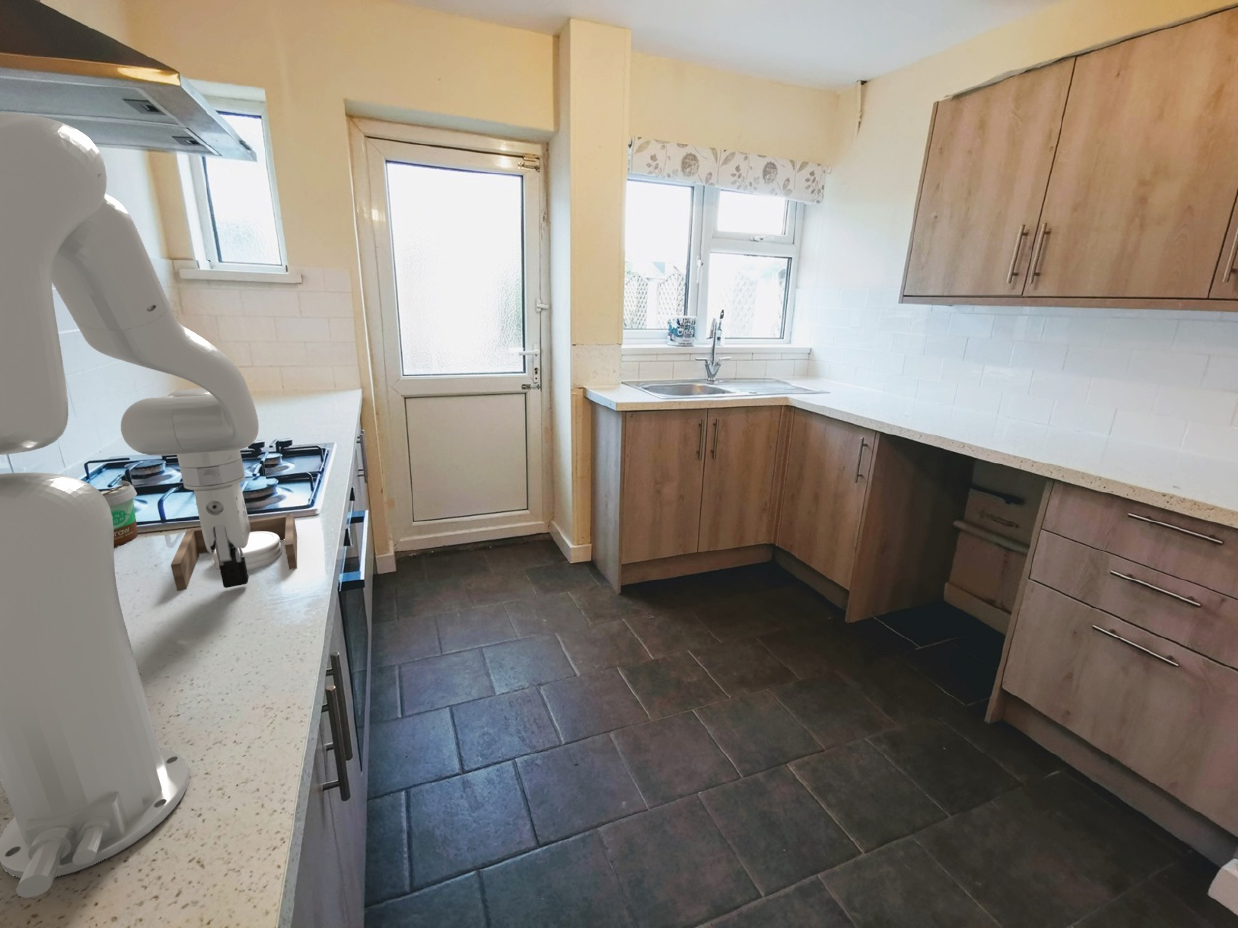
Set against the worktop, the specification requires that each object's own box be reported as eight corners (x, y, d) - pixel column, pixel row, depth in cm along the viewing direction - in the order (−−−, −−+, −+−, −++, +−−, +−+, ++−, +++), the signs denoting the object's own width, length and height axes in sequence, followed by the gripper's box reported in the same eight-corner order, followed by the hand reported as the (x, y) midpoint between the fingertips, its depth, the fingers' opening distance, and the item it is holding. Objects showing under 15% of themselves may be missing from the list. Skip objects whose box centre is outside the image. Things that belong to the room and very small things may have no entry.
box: (297, 568, 95) (292, 543, 94) (177, 590, 87) (170, 564, 86) (297, 535, 108) (293, 513, 106) (192, 552, 100) (186, 529, 99)
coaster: (285, 544, 105) (281, 526, 104) (279, 566, 96) (276, 547, 95) (221, 553, 101) (217, 535, 100) (209, 578, 92) (205, 558, 91)
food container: (95, 558, 98) (80, 504, 95) (67, 554, 99) (51, 501, 96) (163, 530, 109) (151, 482, 107) (137, 527, 111) (125, 479, 108)
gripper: (239, 483, 79) (262, 599, 84) (247, 457, 91) (266, 559, 96) (172, 491, 75) (200, 612, 80) (190, 463, 88) (213, 569, 93)
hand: (236, 583), depth 88 cm, fingers closed
